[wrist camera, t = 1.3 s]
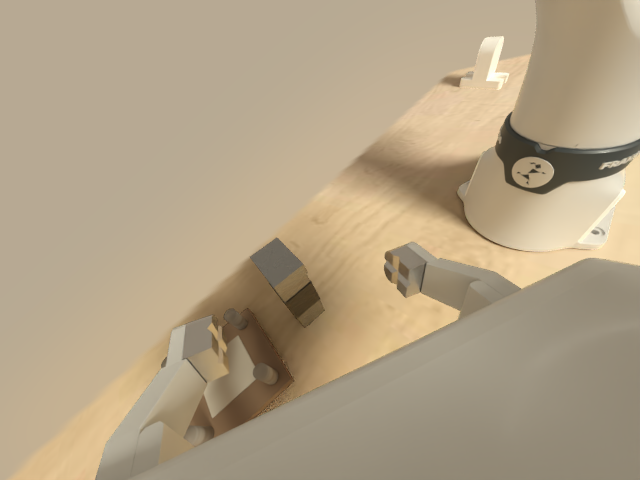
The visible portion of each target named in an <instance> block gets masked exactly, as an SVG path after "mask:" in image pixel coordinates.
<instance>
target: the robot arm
mask: <svg viewBox="0 0 640 480" xmlns="http://www.w3.org/2000/svg"><path fill="white" fill-rule="evenodd" d="M535 3H536V31H535V38H534V44H533V48H532V52H531V56H530V60H529V64H528V67H527V70H526V74H525V77H524V80H523V84H522V87H521V89H520V92H519V95H518V98H517V101H516V104H515V107H514V109H513V111H512V112H511V113H510V114H509V115H508V116H507V117H506V119H505V122H504V124H503V125H502V127H501V129H500V132H499V134H498V140H497V142H496V145H495V146H494V147H491V148H490V149H488V150H487V151H485V152H483V153H482V154H481V156H480V158H479V160H478V163H477V165H476V168H475V170H474V173H473V175H472V178H471V180H469V181H467V182H465V183H464V184H462V185H460V186H459V188H458V191H457V194H458V196H459V197H460V198H461V200H462V201H463V203H464V211H465V216H466V218H467V220H468V222H469V223H470V225H471V226H472V227H473V228H474V229H475V230H476V231H477V232H479V233H480V234H481V235H483V236H484V237H486V238H487V239H489V240H491V241H493V242H495V243H498V244H500V245H503V246H506V247H509V248H513V249H518V250H523V251H533V252H544V251H554V250H559V249H565V248H577V249H589V250H595V249H600V248H602V247H603V245H604V244H605V243H606V241H607V238H608V234H609V230H610V226H611V222H612V218H613V214H614V210H615V206H616V203H617V202H618V201H619V200H620V199H621V198H622V197H623V195H624V194H625V192H626V191H625V190H624V189H623V187H624V184H625V170H626V166H627V165H628V164H629V163H630V162H631V161H632V160H633V158H635V157H637V156H638V155H639V154H640V0H535ZM385 259H386V260H387V262H386V263H385V265H384V271H385V274H386V276H387V278H388V280H389V281H390V282H391V283H394V284H397V289H398V290H399V291H400V292H401V293H402V295H403V296H404V297H405V298H407V297H409V296H412V295H414V294H417V293H420V292H421V293H422V294H424V295H427V296H429V297H431V298H433V299H435V300H438V301H440V302H442V303H444V304H446V305H449V306H451V307H453V308H455V309H457V310H460V314H459V316H458V320H457V321H455V322H453V323H451V324H448V325H446V326H444V327H442V328H440V329H438V330H436V331H434V332H432V333H430V334H428V335H426V336H424V337H422V338H419V339H417V340H415V341H413V342H411V343H409V344H407V345H405V346H403V347H401V348H399V349H397V350H395V351H393V352H390V353H388V354H386V355H384V356H382V357H380V358H378V359H376V360H374V361H372V362H370V363H368V364H366V365H364V366H362V367H359V368H357V369H355V370H353V371H351V372H349V373H347V374H345V375H343V376H341V377H339V378H337V379H335V380H333V381H331V382H328V383H326V384H324V385H322V386H320V387H318V388H316V389H314V390H312V391H310V392H308V393H306V394H304V395H302V396H300V397H297V398H295V399H293V400H291V401H289V402H287V403H285V404H283V405H281V406H279V407H277V408H275V409H273V410H271V411H269V412H266V413H264V414H262V415H260V416H258V417H256V418H254V419H252V420H250V421H248V422H246V423H244V424H242V425H240V426H238V427H235V428H233V429H231V430H229V431H227V432H225V433H223V434H221V435H219V436H217V437H215V438H213V439H211V440H209V441H207V442H204V443H202V444H200V445H198V446H196V447H194V446H193V445H192V444H190V443H189V442H188V441H187V440H185V439H184V438H183V437H184V435H185V433H186V431H187V429H188V426H189V424H190V422H191V420H192V418H193V415H194V413H195V411H196V409H197V407H198V404H199V402H200V400H201V398H202V396H203V393H204V391H205V389H206V387H207V383H209V382H211V381H213V380H215V379H218V378H220V377H222V376H224V375H226V374H228V373H229V362H228V357H227V355H226V353H225V352H226V350H227V348H228V347H227V339H226V335H225V332H224V330H223V328H222V327H221V326H218V320H217V318H216V317H215V315H210V316H207V317H204V318H201V319H198V320H195V321H192V322H189V323H187V324H184V325H181V326H178V327H175V328H173V330H172V332H171V337H170V343H169V349H168V355H167V361H166V367H163V368H161V369H160V371H159V372H158V374H157V375H156V376H155V378H154V379H153V380H152V382H151V383H150V384H149V386H148V387H147V388H146V390H145V391H144V393H143V394H142V395H141V397H140V398H139V399H138V401H137V402H136V403H135V405H134V406H133V407H132V409H131V410H130V411H129V413H128V414H127V416H126V417H125V418H124V420H123V421H122V422H121V424H120V425H119V426H118V428H117V429H116V430H115V432H114V433H113V434H112V436H111V437H110V439H109V440H108V441H107V443H106V445H105V448H104V452H103V455H102V458H101V462H100V465H99V468H98V472H97V475H96V478H95V480H640V266H638V265H634V264H629V263H623V262H618V261H612V260H606V259H599V258H587V259H584V260H581V261H579V262H577V263H575V264H572V265H570V266H568V267H566V268H564V269H562V270H560V271H558V272H556V273H554V274H552V275H550V276H548V277H546V278H544V279H541V280H539V281H537V282H535V283H533V284H531V285H529V286H527V287H525V288H523V289H521V288H519V287H518V286H516V285H515V284H513V283H512V282H510V281H508V280H507V279H505V278H504V277H502V276H501V275H499V274H498V273H496V272H494V271H490V270H486V269H482V268H478V267H474V266H470V265H466V264H462V263H458V262H454V261H450V260H446V259H442V258H439V259H437V258H436V257H434V256H433V255H431V254H430V253H429V252H427V251H426V250H425V249H423V248H422V247H421V246H419V245H418V244H417V243H415V242H410V243H408V244H405V245H403V246H400V247H397V248H395V249H392V250H389V251H387V252H386V253H385Z"/></svg>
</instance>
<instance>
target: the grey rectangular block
mask: <svg viewBox="0 0 640 480" xmlns="http://www.w3.org/2000/svg"><path fill="white" fill-rule="evenodd" d="M250 258H251V259H252V261H253V262H254V263H255V265H256V266H257V267H258V268H259V270H260V271H261V272H262V274H263V275H264V276H265V278H266V279H267V280H268V281H269V284H270V285H271V286H272V288H273V289H274V290H275V292H276V293H277V294H278V296H279V297H280V298H281V299H282V301H283V302H284V303H285V305H286V306H287V307H288V308H289V310H290V311H291V312H292V314H293V315H294V316H295V317H296V319H298V320H299V321H300V322H301V324H302V325H303V326H304V327H306V326H308V325H309V324H310V323H311V322H312V321H313V320H314V319H315V318H317V317H318V316H319V315H320V314H321V313H322V312H323V311H324V310H325V309H324V308H323V306H322V304H321V302H320V298H319V296H318V294H317V292H316V290H315V288H314V286H313V284H312V282H311V281H310V280H309V278H308V276H307V273H308V272H307V270H306V268H305V266H304V264H303V263H302V262H301V261H300V260H299V259H298V258H297V257H296V256H295V255H294V254H293V253H292V252H291V251H290V250H289V249H288V248H287V247H286V246H285V245H284V244H283V243H282V242H281V241H280V240H279V239H278V238H276V239H274V240H273V241H271V242H270V243H269V244H267V245H266V246H265V247H263V248H262V249H260V250H259V251H258V252H256V253H255V254H254V255H252V256H251V257H250Z"/></svg>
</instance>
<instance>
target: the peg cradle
mask: <svg viewBox="0 0 640 480" xmlns="http://www.w3.org/2000/svg"><path fill="white" fill-rule="evenodd" d="M224 319H225V320H226V321H227V322H229V323H228V324H226V325H225V326H224V327H223V330H224V332H225V335H226V339H227V347H228V348H227V350H226V352H225V353H226V355H227V357H228V362H229V373H228V374H226V375H224V376H222V377H220V378H218V379H215V380H213V381H211V382H209V383H207V387H206V389H205V391H204V393H203V396H202V398H201V400H200V402H199V404H198V407H197V409H196V411H195V413H194V415H193V418H192V420H191V422H190V424H189V426H188V429H187V431H186V433H185V435H184V437H183V438H184V439H185V440H187V441H188V442H189V443H190V444H192V445H193V446H194V447H196V446H198V445H200V444H202V443H204V442H207V441H209V440H211V439H213V438H215V437H217V436H219V435H221V434H223V433H225V432H227V431H229V430H231V429H233V428H235V427H238V426H240V425H242V424H244V423H246V422H248V421H250V420H252V419H254V418H255V417H256V416H257V415H258V414H259V413H260V412H262V411H263V410H264V409H265V408H266V407H267V406H268V405H269V404H270V403H271V402H272V401H273V400H274V399H275V398H276V397H277V396H278V395H280V394H281V393H282V392H283V391H284V390H285V389H286V388H287V387H288V386H289V385H290V384H291V383H292V382H293V381H294V380H293V378H292V376H291V375H290V373H289V372H288V370H287V368H286V367H285V365H284V363H283V362H282V360H281V359H280V357H279V355H278V354H277V352H276V351H275V349H274V347H273V346H272V344H271V343H270V341H269V339H268V338H267V336H266V334H265V333H264V331H263V330H262V328H261V326H260V325H259V323H258V322H257V320H256V318H255V317H254V315H253V314H252V312H251V311H250V310H249V309H248V308H247V309H245V310H244V311H243V312H242V313H240V314H239V313H238V312H237V311H235V310H234V309H229V310H227V311H226V312H225V314H224ZM166 361H167V357H166V358H165V359H164V360H163V362H162V365H161V368H163V367H166Z"/></svg>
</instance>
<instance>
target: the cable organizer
mask: <svg viewBox="0 0 640 480" xmlns="http://www.w3.org/2000/svg"><path fill="white" fill-rule="evenodd" d="M503 40H504V37H502V36H501V37H486V38H485V39H484V40H483V42H482V44H481V47H480V50H479V52H478V56H477V60H476V65H475V69H474V72H472V71H471V72H468V73H466V77H462V78H461V81H460V86H459V87H461V88H478V89H494V90H498V89H500V88H501V87H502V84H505V83H506V82H507V79H508V76H509V73H495V70H496V66H497V63H498V60H499V56H500V53H501V49H502V45H503Z"/></svg>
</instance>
